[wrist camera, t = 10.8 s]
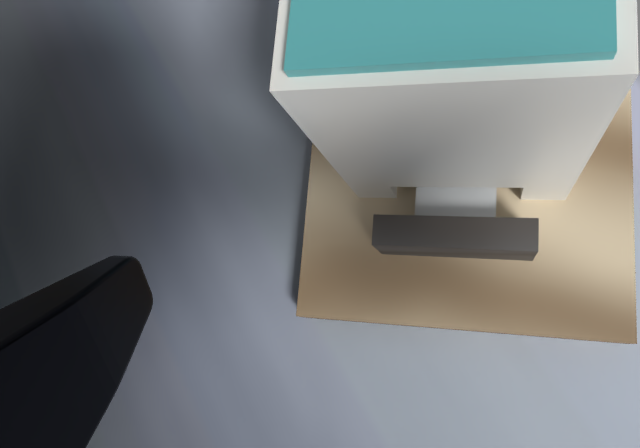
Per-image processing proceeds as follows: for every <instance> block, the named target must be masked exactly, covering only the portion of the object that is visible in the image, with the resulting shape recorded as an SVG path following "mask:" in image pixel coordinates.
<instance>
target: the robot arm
mask: <svg viewBox="0 0 640 448" xmlns="http://www.w3.org/2000/svg"><path fill="white" fill-rule="evenodd" d="M152 305H153V297H152V293H151V290H150V287H149V285H148V282H147V279H146V277H145V274H144V272H143V269H142V266H141V264H140V262H139V261H138V260H137V259H136V258H134V257H132V256H110V257H108V258H106V259H104V260H102V261H99V262H97V263H95V264H93V265H91V266H89V267H87V268H85V269H83V270H81V271H79V272H77V273H75V274H73V275H70V276H68V277H66V278H64V279H62V280H60V281H58V282H56V283H54V284H52V285H50V286H48V287H46V288H43V289H41V290H39V291H37V292H35V293H33V294H31V295H29V296H27V297H25V298H23V299H21V300H19V301H17V302H14V303H12V304H10V305H8V306H6V307H4V308H2V309H0V448H86V446H87V445H88V443H89V441H90V439H91V437H92V435H93V434H94V432H95V430H96V428H97V426H98V424H99V423H100V421H101V419H102V417H103V415H104V413H105V412H106V410H107V408H108V406H109V404H110V402H111V400H112V398H113V397H114V395H115V393H116V391H117V389H118V387H119V384H120V382H121V380H122V378H123V376H124V373H125V371H126V369H127V366H128V364H129V361H130V359H131V357H132V354H133V352H134V350H135V347H136V345H137V343H138V340H139V338H140V335H141V333H142V331H143V328H144V326H145V324H146V321H147V319H148V317H149V314H150V312H151V309H152Z"/></svg>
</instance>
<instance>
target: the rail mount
mask: <svg viewBox="0 0 640 448" xmlns="http://www.w3.org/2000/svg"><path fill="white" fill-rule="evenodd" d="M520 191H521V188H491V187H397V198H359V197H358V196H357V195H356V194H355V193H354V191H353V190H352V189H351V188H350V187H349V185H348V184H347V183H346V182H345V181H344V180H343V178H342V177H341V176H340V175H339V174H338V172H337V171H336V170H335V169H334V168H333V166H332V165H331V164H330V163H329V162H328V160H327V159H326V158H325V157H324V156H323V155H322V153H321V152H320V151H319V150H318V149H317V147H316V146H315V145H314V144H313V143H312V151H311V162H310V173H309V184H308V194H307V205H306V216H305V227H304V237H303V248H302V259H301V269H300V280H299V291H298V302H297V312H296V316H299V317H306V318H318V319H331V320H343V321H355V322H367V323H380V324H392V325H404V326H416V327H429V328H441V329H453V330H466V331H478V332H490V333H502V334H515V335H527V336H539V337H551V338H564V339H576V340H588V341H600V342H613V343H625V344H637V328H636V287H635V245H634V203H633V162H632V120H631V88H630V90H629V92H628V93H627V95H626V97H625V98H624V100H623V102H622V104H621V105H620V107H619V109H618V111H617V112H616V114H615V116H614V117H613V119H612V121H611V123H610V124H609V126H608V128H607V129H606V131H605V133H604V135H603V136H602V138H601V140H600V141H599V143H598V145H597V147H596V148H595V150H594V152H593V154H592V155H591V157H590V159H589V160H588V162H587V164H586V166H585V167H584V169H583V171H582V172H581V174H580V176H579V178H578V179H577V181H576V183H575V184H574V186H573V188H572V190H571V191H570V193H569V195H568V196H567V198H566V200H520Z"/></svg>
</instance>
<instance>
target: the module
mask: <svg viewBox="0 0 640 448" xmlns="http://www.w3.org/2000/svg"><path fill="white" fill-rule="evenodd" d="M638 74H639V62H638V28H637V0H279V8H278V17H277V26H276V35H275V44H274V54H273V63H272V72H271V81H270V90H269V91H270V93H271V94H272V95H273V96H274V97H275V99H276V100H277V101H278V102H279V103H280V105H281V106H282V107H283V108H284V109H285V111H286V112H287V113H288V114H289V115H290V116H291V118H292V119H293V120H294V121H295V122H296V124H297V125H298V126H299V127H300V128H301V130H302V131H303V132H304V133H305V134H306V136H307V137H308V138H309V139H310V140H311V141H312V143H313V144H314V145H315V146H316V147H317V149H318V150H319V151H320V152H321V153H322V155H323V156H324V157H325V158H326V159H327V160H328V162H329V163H330V164H331V165H332V166H333V168H334V169H335V170H336V171H337V172H338V174H339V175H340V176H341V177H342V178H343V180H344V181H345V182H346V183H347V184H348V185H349V187H350V188H351V189H352V190H353V191H354V193H355V194H356V195H357V196H358V197H359V198H397V187H491V188H521V191H520V200H566V198H567V196H568V195H569V193H570V191H571V190H572V188H573V186H574V184H575V183H576V181H577V179H578V178H579V176H580V174H581V172H582V171H583V169H584V167H585V166H586V164H587V162H588V160H589V159H590V157H591V155H592V154H593V152H594V150H595V148H596V147H597V145H598V143H599V141H600V140H601V138H602V136H603V135H604V133H605V131H606V129H607V128H608V126H609V124H610V123H611V121H612V119H613V117H614V116H615V114H616V112H617V111H618V109H619V107H620V105H621V104H622V102H623V100H624V98H625V97H626V95H627V93H628V92H629V90H630V88H631V86H632V85H633V83H634V81H635V80H636V78H637V76H638Z"/></svg>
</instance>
